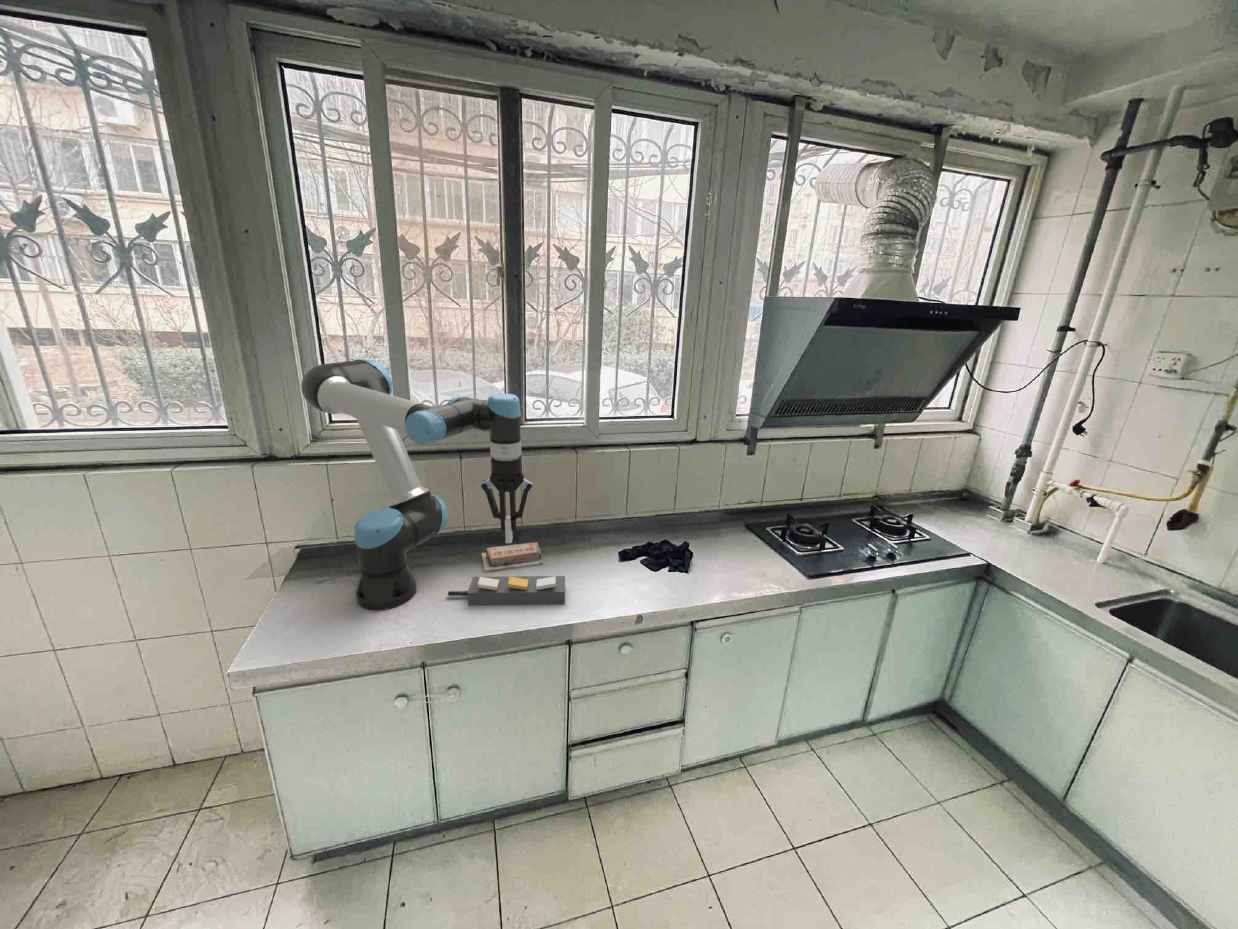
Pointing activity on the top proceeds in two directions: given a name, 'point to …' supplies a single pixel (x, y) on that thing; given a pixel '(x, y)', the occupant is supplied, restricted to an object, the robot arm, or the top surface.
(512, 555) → the packaged product
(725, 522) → the top surface
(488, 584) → the white box
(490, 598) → the power strip
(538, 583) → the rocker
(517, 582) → the yellow box
